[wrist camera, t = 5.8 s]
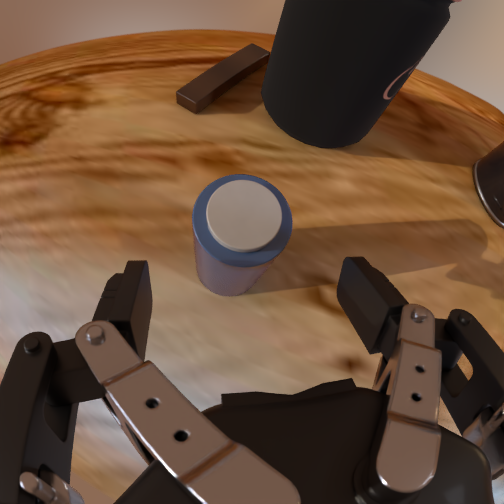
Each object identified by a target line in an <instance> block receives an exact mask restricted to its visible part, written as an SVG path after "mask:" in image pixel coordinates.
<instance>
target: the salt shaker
mask: <svg viewBox="0 0 504 504" xmlns="http://www.w3.org/2000/svg"><path fill="white" fill-rule="evenodd" d="M192 226H193V238H194V250H195V262H196V270H197V274H198V277H199V279H200V280H201V282H202V283H203V285H204V286H205V287H206V288H207V289H209V290H210V291H212V292H213V293H215V294H218V295H221V296H237V295H240V294H243V293H245V292H246V291H248V290H249V289H250V288H251V287H252V286H253V285H254V284H255V283H256V282H257V281H258V279H259V278H260V277H261V276H262V275H263V273H264V272H265V271H266V270H267V269H268V267H269V266H270V265H271V264H272V263H273V261H274V260H275V259H276V258H277V257H278V255H279V254H280V253H281V252H282V251H283V249H284V248H285V246H286V245H287V243H288V241H289V239H290V236H291V232H292V214H291V211H290V207H289V205H288V203H287V201H286V199H285V198H284V196H283V195H282V194H281V192H280V191H279V190H278V189H277V188H276V187H274V186H273V185H272V184H270V183H269V182H267V181H265V180H263V179H261V178H258V177H255V176H251V175H245V174H235V175H229V176H225V177H222V178H219V179H217V180H215V181H214V182H212V183H211V184H209V185H208V186H207V187H206V188H205V189H204V190H203V191H202V192H201V193H200V195H199V196H198V198H197V200H196V202H195V205H194V208H193V214H192Z"/></svg>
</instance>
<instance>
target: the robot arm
mask: <svg viewBox="0 0 504 504" xmlns="http://www.w3.org/2000/svg"><path fill="white" fill-rule="evenodd" d="M473 180H474V184H475V188H476V191H477V193H478V196H479V198H480V200H481V202H482V204H483V206H484V208H485V210H486V211H487V213H488V214H489V216H490V217H491V218H492V219H493V221H494V222H495V223H496V224H497V225H499V226H500V227H502V228H504V141H503V142H502V143H501V144H500V145H498V146H497V147H496V148H494V149H493V150H492V151H491V152H489V153H488V154H487V155H486V156H484V157H483V158H482V159H479V160H478V161H477V162H476V163H475V164H474V166H473ZM337 299H338V301H339V303H340V305H341V307H342V308H343V310H344V312H345V313H346V315H347V316H348V318H349V320H350V321H351V323H352V325H353V327H354V328H355V330H356V332H357V333H358V335H359V337H360V338H361V340H362V342H363V343H364V345H365V347H366V349H367V350H368V352H369V354H375V353H380V352H381V353H382V354H383V355H382V357H381V359H380V362H379V365H378V369H377V373H376V377H375V380H374V384H373V387H372V389H368V388H361V387H356V385H355V383H354V381H353V379H352V378H350V379H344V380H339V381H333V382H327V383H322V384H320V385H317V386H315V387H312V388H310V389H307V390H305V391H302V392H300V393H297V394H293V395H286V394H275V393H265V392H244V393H229V394H221V401H222V404H219V405H215V406H213V407H210V408H208V409H206V410H204V411H202V412H200V411H199V410H198V409H197V408H196V407H195V406H194V405H193V404H192V403H191V402H190V401H189V400H188V399H187V398H186V397H185V396H184V395H183V394H182V393H181V392H180V391H179V390H178V389H177V388H176V387H175V386H174V385H173V384H172V383H171V382H170V381H169V380H168V379H167V378H166V376H165V375H164V374H163V373H162V372H161V371H160V370H159V369H158V368H157V367H156V366H155V364H154V363H152V362H151V361H149V360H147V361H145V362H144V359H145V352H146V345H147V338H148V331H149V325H150V319H151V312H152V291H151V284H150V276H149V268H148V262H147V261H146V260H141V261H128V262H127V265H126V267H125V270H124V273H116V274H114V275H113V276H112V277H111V278H110V279H109V280H108V281H107V283H106V286H105V288H104V291H103V293H102V296H101V298H100V301H99V303H98V306H97V309H96V311H95V314H94V316H93V319H92V322H89V323H86V324H85V325H83V326H82V327H81V328H80V329H79V330H78V331H77V333H76V335H75V338H73V339H70V340H65V341H60V342H55V343H53V342H52V340H51V337H50V336H49V335H48V334H46V333H44V332H32V333H29V334H27V335H25V336H24V337H23V338H21V339H20V340H19V342H18V343H17V345H16V347H15V350H14V352H13V354H12V357H11V359H10V362H9V364H8V367H7V369H6V372H5V374H4V377H3V379H2V382H1V385H0V504H85V503H84V500H83V498H82V496H81V495H80V493H79V492H77V490H75V489H74V488H73V487H71V486H70V471H71V459H72V449H73V440H74V432H75V425H76V418H77V412H78V405H79V402H84V401H89V400H94V399H99V398H101V399H102V401H103V402H104V404H105V405H106V407H107V408H108V410H109V411H110V413H111V414H112V416H113V417H114V419H115V420H116V421H117V423H118V424H119V426H120V427H121V429H122V430H123V431H124V433H125V434H126V436H127V437H128V438H129V440H130V441H131V443H132V444H133V446H134V447H135V449H136V450H137V451H138V453H139V454H140V455H141V457H142V458H143V459H144V460H145V462H146V463H147V464H148V465H149V466H148V467H147V468H146V470H145V471H144V472H143V473H142V474H141V475H140V476H139V477H138V478H137V479H136V480H135V481H134V483H133V484H132V485H131V486H130V487H129V488H128V489H127V490H126V491H125V492H124V493H123V494H122V495H121V496H120V497H119V498H118V499H117V500H116V502H115V503H114V504H495V503H494V499H493V492H492V480H495V479H497V478H498V477H499V476H501V475H502V474H503V473H504V353H503V351H502V350H501V349H500V347H499V346H498V345H497V344H496V342H495V341H494V340H493V339H492V337H491V336H490V335H489V334H488V333H487V331H486V330H485V329H484V328H483V327H482V325H481V324H480V323H479V322H478V321H477V319H476V318H475V317H474V316H473V315H472V314H470V313H469V312H467V311H465V310H462V309H454V310H452V311H451V312H450V314H449V316H448V319H437V318H434V315H433V314H432V313H431V311H429V310H428V309H427V308H425V307H423V306H421V305H418V304H409V303H408V302H407V300H406V299H405V298H404V297H403V296H402V295H401V293H400V292H399V291H398V290H397V289H396V288H395V287H394V285H393V284H392V283H391V282H389V280H388V278H387V277H386V276H385V275H384V274H383V273H382V272H380V271H379V270H377V269H375V268H374V267H372V266H371V265H370V263H369V262H368V261H367V260H366V259H365V258H364V257H362V256H360V257H346V258H345V259H344V261H343V265H342V269H341V274H340V278H339V282H338V286H337ZM463 353H464V355H465V356H466V357H467V359H468V360H469V362H470V363H471V365H472V367H473V375H472V377H471V378H470V380H469V381H468V380H467V378H466V376H465V375H464V373H463V372H462V370H461V369H460V367H459V366H458V364H457V362H458V360H459V359H460V357H461V355H462V354H463ZM440 396H441V398H442V400H443V402H444V404H445V405H446V407H447V409H448V411H449V413H450V414H451V416H452V418H453V420H454V422H455V424H456V426H457V428H458V429H459V431H460V433H461V435H462V437H461V436H459V435H457V434H455V433H453V432H451V431H450V430H448V429H446V428H444V427H442V426H440V425H438V414H439V403H440Z"/></svg>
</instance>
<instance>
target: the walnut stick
mask: <svg viewBox="0 0 504 504" xmlns="http://www.w3.org/2000/svg"><path fill="white" fill-rule="evenodd" d="M269 55H270V52H269V51H267V50H265V49H263V48H261V47H259V46H257V45H255V44H250V45H248V46H246V47H244V48H243V49H241V50H239V51H238V52H236V53H234V54H233V55H231V56H229V57H228V58H226V59H224V60H223V61H221V62H219V63H218V64H216V65H215V66H213V67H212V68H210V69H208V70H207V71H205V72H204V73H202V74H201V75H199V76H198V77H196V78H195V79H193V80H192V81H191V82H189V83H188V84H186V85H185V86H183V87H182V88H181V89H179V90H178V91H177V92H176V99H177V103H178V104H179V105H181V106H183V107H184V108H186V109H188V110H189V111H191V112H193V113H194V114H197V113H199V112H200V111H201V110H202V109H204V108H205V107H206V106H207V105H209V104H210V103H211V102H213V101H214V100H215V99H217V98H218V97H219V96H220V95H222V94H223V93H224V92H226V91H227V90H229V89H230V88H231V87H233V86H234V85H235V84H237V83H238V82H240V81H241V80H242V79H244V78H245V77H247V76H248V75H250V74H251V73H253V72H254V71H255V70H257V69H258V68H260V67H261V66H263V65H264V64H266V63H267V62H268V59H269Z"/></svg>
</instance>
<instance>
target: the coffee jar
mask: <svg viewBox="0 0 504 504" xmlns="http://www.w3.org/2000/svg"><path fill="white" fill-rule="evenodd" d="M459 1H461V0H286V1H285V4H284V7H283V11H282V15H281V18H280V22H279V25H278V29H277V32H276V36H275V40H274V43H273V47H272V51H271V54H270V58H269V62H268V65H267V69H266V73H265V77H264V81H263V85H262V91H261V94H262V98H263V101H264V105H265V108H266V110H267V111H268V113H269V115H270V116H271V118H272V119H273V120H274V122H275V123H276V124H277V126H278V127H280V128H281V129H282V130H283V131H285V132H286V133H287V134H288V135H289V136H291V137H293V138H295V139H297V140H299V141H301V142H303V143H305V144H308V145H312V146H316V147H320V148H338V147H345V146H348V145H351V144H354V143H357V142H359V141H360V140H361V139H362V138H363V137H364V136H365V135H366V134H367V133H368V132H369V131H370V129H371V128H372V127H373V125H374V124H375V122H376V121H377V120H378V118H379V117H380V116H381V114H382V113H383V112H384V110H385V109H386V108H387V106H388V105H389V104H390V102H391V101H392V99H393V98H394V97H395V95H396V94H397V93H398V91H399V90H400V88H401V87H402V86H403V84H404V83H405V82H406V80H407V79H408V77H409V76H410V75H411V73H412V72H413V71H414V69H415V68H416V66H417V65H418V64H419V62H420V61H421V59H422V58H423V57H424V55H425V54H426V52H427V51H428V49H429V48H430V46H431V45H432V44H433V43H434V41H435V40H436V38H437V37H438V35H439V34H440V33H441V31H442V30H443V28H444V27H445V25H446V24H447V23H448V21H449V19H450V12H449V6H450V4H451V3H453V2H459Z"/></svg>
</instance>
